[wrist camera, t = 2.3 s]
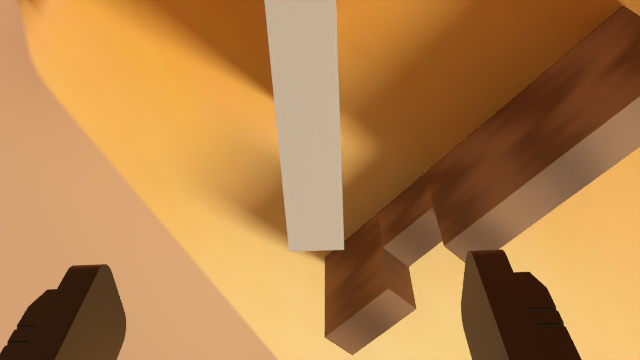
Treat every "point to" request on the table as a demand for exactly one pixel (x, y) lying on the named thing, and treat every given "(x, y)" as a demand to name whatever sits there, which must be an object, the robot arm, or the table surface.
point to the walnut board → (494, 180)
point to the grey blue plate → (307, 119)
